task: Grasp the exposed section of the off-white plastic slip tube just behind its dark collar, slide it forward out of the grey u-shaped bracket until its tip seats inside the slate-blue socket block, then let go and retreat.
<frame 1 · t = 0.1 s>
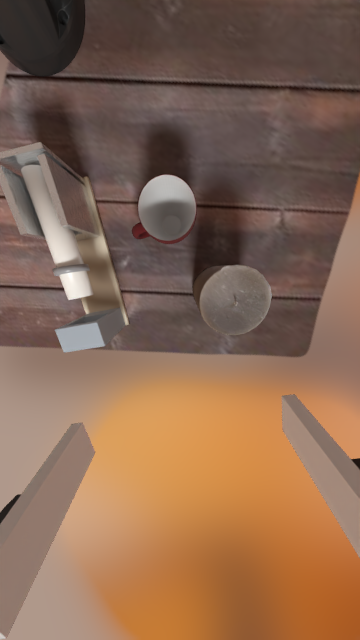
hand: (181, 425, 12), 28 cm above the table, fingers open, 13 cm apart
grey u-shaped bracket: (75, 216, 33), resting on base board
mug: (166, 229, 34), on the table
pillar candle: (216, 289, 37), on the table
slip tube: (62, 240, 28), point 7 cm above the table, slide at 0.0 cm
base board: (91, 263, 36), on the table
socket block: (107, 319, 38), resting on base board
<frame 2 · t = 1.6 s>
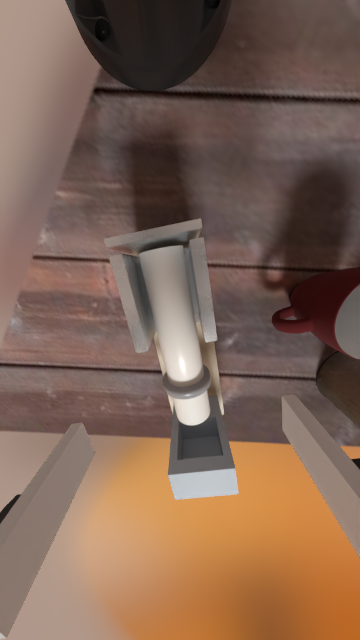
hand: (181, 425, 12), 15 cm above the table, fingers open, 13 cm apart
grey u-shaped bracket: (173, 286, 23), resting on base board
mug: (295, 300, 24), on the table
pillar candle: (347, 373, 27), on the table
slip tube: (179, 341, 18), point 7 cm above the table, slide at 0.0 cm
base board: (184, 341, 26), on the table
socket block: (197, 408, 29), resting on base board
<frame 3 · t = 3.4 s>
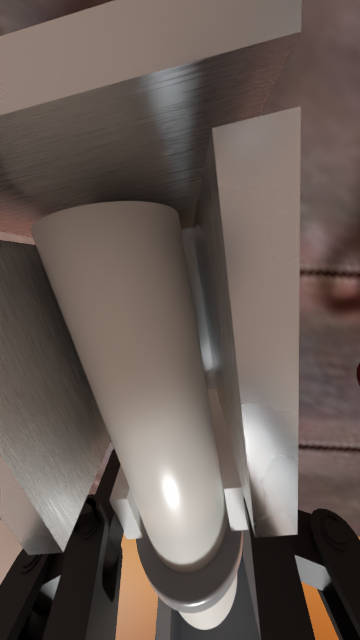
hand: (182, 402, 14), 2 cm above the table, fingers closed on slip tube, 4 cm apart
grey u-shaped bracket: (164, 308, 13), resting on base board
slip tube: (171, 449, 8), point 7 cm above the table, slide at 0.0 cm, touching gripper
socket block: (204, 494, 18), resting on base board
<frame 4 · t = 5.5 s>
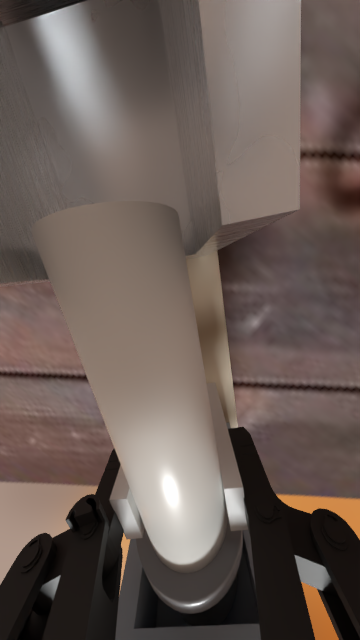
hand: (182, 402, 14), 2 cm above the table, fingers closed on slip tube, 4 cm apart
grey u-shaped bracket: (140, 197, 11), resting on base board
slip tube: (171, 449, 8), point 7 cm above the table, slide at 7.0 cm, touching gripper
base board: (168, 321, 14), on the table
socket block: (193, 444, 16), resting on base board
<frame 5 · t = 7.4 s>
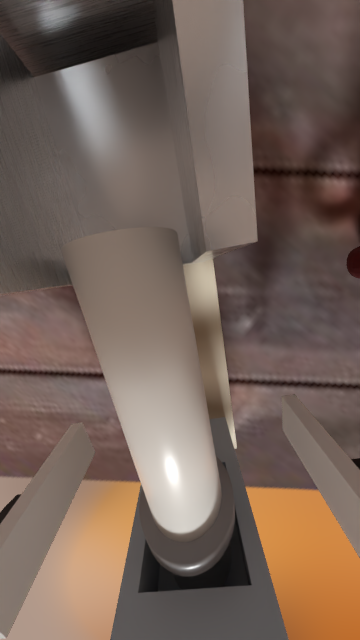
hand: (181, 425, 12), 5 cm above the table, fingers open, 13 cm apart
grey u-shaped bracket: (143, 210, 12), resting on base board
slip tube: (171, 434, 9), point 7 cm above the table, slide at 7.0 cm
base board: (168, 322, 15), on the table
socket block: (191, 438, 17), resting on base board
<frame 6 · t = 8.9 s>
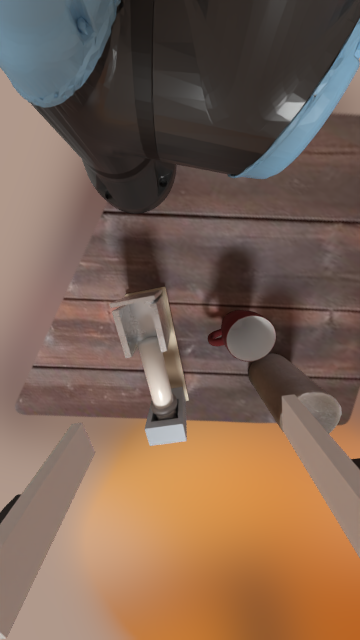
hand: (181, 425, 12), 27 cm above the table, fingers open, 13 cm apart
grey u-shaped bracket: (150, 316, 37), resting on base board
mug: (228, 324, 38), on the table
pillar candle: (269, 370, 41), on the table
slip tube: (159, 384, 34), point 7 cm above the table, slide at 7.0 cm
base board: (159, 350, 40), on the table
socket block: (170, 395, 42), resting on base board
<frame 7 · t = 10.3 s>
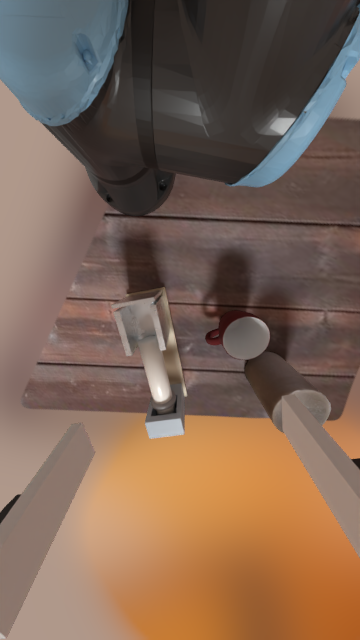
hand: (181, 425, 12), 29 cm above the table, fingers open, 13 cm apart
grey u-shaped bracket: (150, 315, 39), resting on base board
mug: (225, 323, 40), on the table
pillar candle: (264, 368, 43), on the table
slip tube: (158, 380, 36), point 7 cm above the table, slide at 7.0 cm
base board: (159, 348, 42), on the table
socket block: (169, 391, 44), resting on base board
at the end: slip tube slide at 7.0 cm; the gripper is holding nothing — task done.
